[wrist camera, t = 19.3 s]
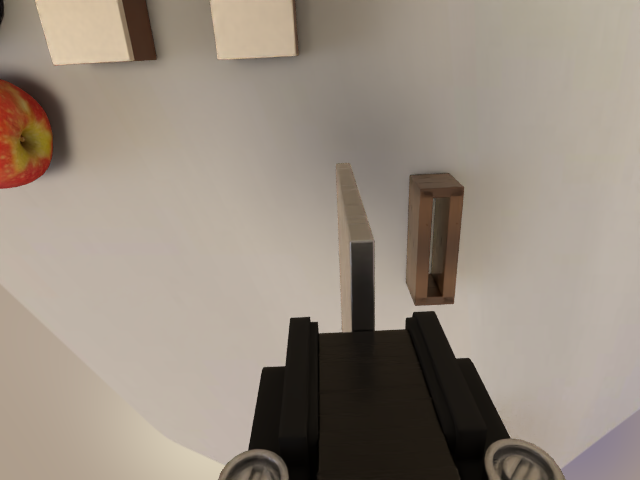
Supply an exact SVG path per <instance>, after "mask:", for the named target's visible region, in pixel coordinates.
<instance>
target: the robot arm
mask: <svg viewBox="0 0 640 480" xmlns="http://www.w3.org/2000/svg"><path fill="white" fill-rule="evenodd" d="M405 329H408V330H409V331H410V334H411V337H412V340H413V343H414V346H415V349H416V352H417V355H418V358H419V361H420V363H421V366H422V369H423V372H424V375H425V378H426V381H427V384H428V387H429V390H430V393H431V396H432V399H433V402H434V405H435V408H436V411H437V414H438V417H439V420H440V423H441V426H442V429H443V432H444V434H445V435H446V437H447V440H448V442H449V445H450V448H451V451H452V454H453V457H454V460H455V463H456V466H457V469H458V472H459V475H460V478H461V480H566V479H565V477H564V475H563V473H562V471H561V469H560V468H559V466H558V465H557V464H556V462H555V461H554V459H553V458H552V457H551V456H549V455H548V454H547V453H546V452H545V451H544V450H542V449H541V448H539V447H537V446H535V445H534V444H532V443H529V442H526V441H523V440H519V439H511V438H510V436H509V434H508V432H507V430H506V428H505V426H504V424H503V422H502V420H501V418H500V416H499V414H498V412H497V410H496V408H495V406H494V404H493V402H492V400H491V398H490V396H489V394H488V392H487V390H486V388H485V386H484V384H483V382H482V380H481V378H480V376H479V374H478V372H477V370H476V368H475V366H474V364H473V363H472V361H471V360H470V359H469V358H458V359H456V358H455V356H454V354H453V351H452V349H451V347H450V345H449V342H448V340H447V338H446V336H445V333H444V331H443V329H442V327H441V325H440V322H439V320H438V318H437V316H436V314H435V312H434V311H427V312H414V313H413V316H412V317H411V318H406V326H405ZM318 334H319V332H318V322H310V317H300V318H290V326H289V336H288V346H287V356H286V366H282V367H264V368H263V369H262V374H261V379H260V385H259V391H258V397H257V403H256V409H255V414H254V420H253V426H252V432H251V438H250V443H249V449H248V451H245V452H243V453H241V454H239V455H237V456H235V457H234V458H233V459H232V460H231V461H229V462H228V463H227V464H226V466H225V467H224V469H223V470H222V471H221V473H220V476H219V479H218V480H316V444H317V440H318Z"/></svg>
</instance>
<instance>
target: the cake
mask: <svg viewBox="0 0 640 480" xmlns="http://www.w3.org/2000/svg"><path fill="white" fill-rule="evenodd" d="M35 3H36V6H37V10H38V13H39V17H40V20H41V24H42V27H43V31H44V35H45V38H46V42H47V45H48V49H49V52H50V56H51V59H52V63H53V65H69V64H89V63H107V62H125V61H142V60H156V59H157V57H156V52H155V47H154V42H153V37H152V31H151V26H150V21H149V16H148V11H147V5H146V0H35Z"/></svg>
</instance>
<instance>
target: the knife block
mask: <svg viewBox="0 0 640 480" xmlns="http://www.w3.org/2000/svg"><path fill="white" fill-rule="evenodd" d="M463 196H464V187H463V186H462V185H461V184H460V183H459V182H458V181H457V180H456V179H455V178H454V177H453V176H451V175H450V174H449V173H442V174H423V175H410V182H409V211H408V239H407V267H406V284H407V286H408V289H409V291H410V294H411V297H412V299H413V302H414V304H415V306H419V305H441V304H454V296H455V285H456V274H457V263H458V251H459V240H460V229H461V218H462V207H463ZM433 198H436V204H435V220H434V236H433V252H432V268H431V274H428V272H429V255H430V238H431V222H432V205H433Z"/></svg>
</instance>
